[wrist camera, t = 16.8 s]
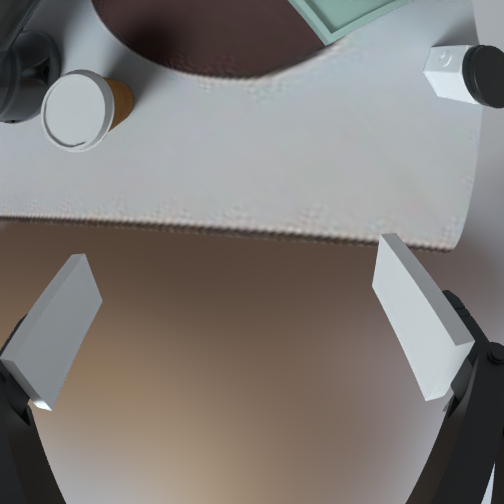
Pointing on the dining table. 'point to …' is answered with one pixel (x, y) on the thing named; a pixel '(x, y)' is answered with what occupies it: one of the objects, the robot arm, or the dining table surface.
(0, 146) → the dining table surface
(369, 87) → the dining table surface
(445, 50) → the jar
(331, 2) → the tray
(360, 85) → the dining table surface
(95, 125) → the disposable coffee cup
